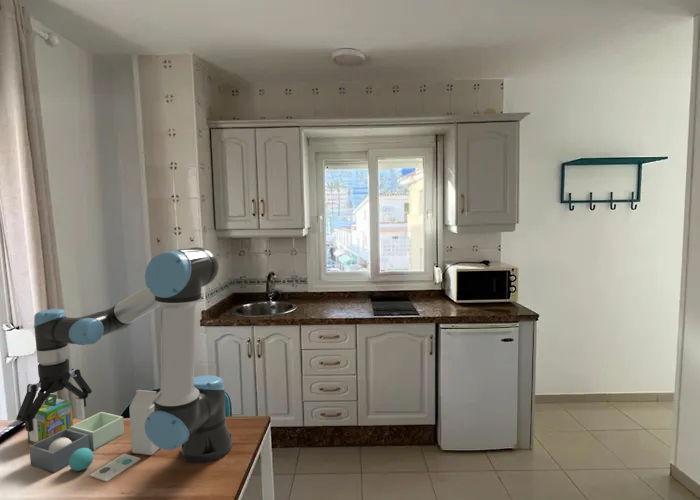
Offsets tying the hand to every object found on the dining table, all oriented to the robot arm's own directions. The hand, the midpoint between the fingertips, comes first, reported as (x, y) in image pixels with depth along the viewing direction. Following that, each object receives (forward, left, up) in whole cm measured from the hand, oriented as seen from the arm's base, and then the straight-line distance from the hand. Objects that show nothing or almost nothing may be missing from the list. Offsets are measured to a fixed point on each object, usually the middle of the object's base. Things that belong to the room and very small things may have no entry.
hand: (58, 428), depth 122 cm
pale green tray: (0, -12, -10) cm, 15 cm away
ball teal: (-11, +1, -10) cm, 15 cm away
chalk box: (+16, -7, -10) cm, 20 cm away
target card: (-20, -3, -10) cm, 22 cm away
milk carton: (-21, -14, -10) cm, 27 cm away
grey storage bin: (0, 0, -10) cm, 10 cm away
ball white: (0, 0, -9) cm, 9 cm away
